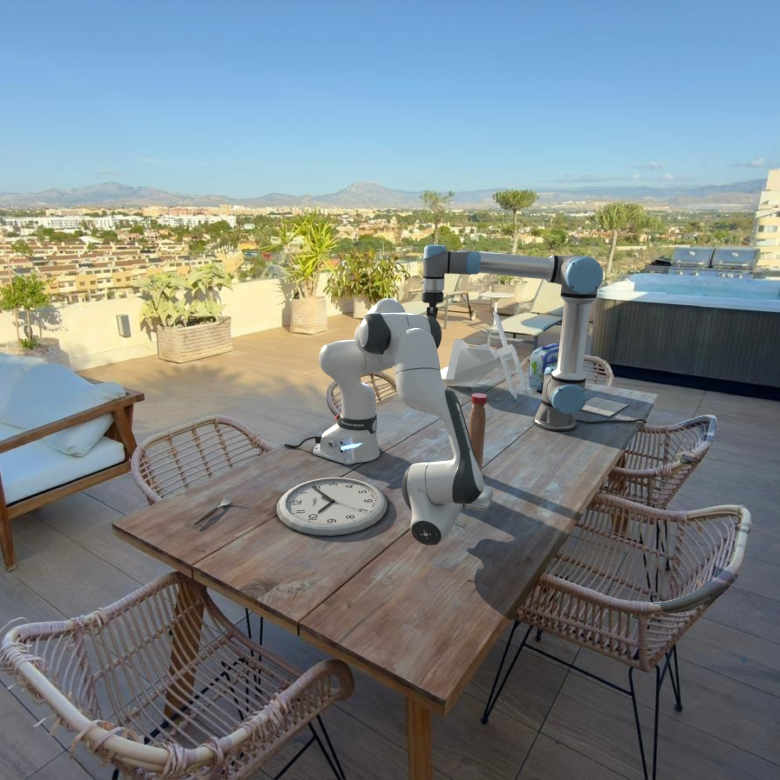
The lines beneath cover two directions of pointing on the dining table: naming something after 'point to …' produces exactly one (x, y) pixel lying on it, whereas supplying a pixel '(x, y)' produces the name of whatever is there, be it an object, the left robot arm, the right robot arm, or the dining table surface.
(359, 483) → the wall clock
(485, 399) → the cap
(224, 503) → the fork
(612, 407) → the invitation card
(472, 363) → the white plastic object
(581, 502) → the dining table surface
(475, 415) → the bottle
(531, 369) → the lunch box
